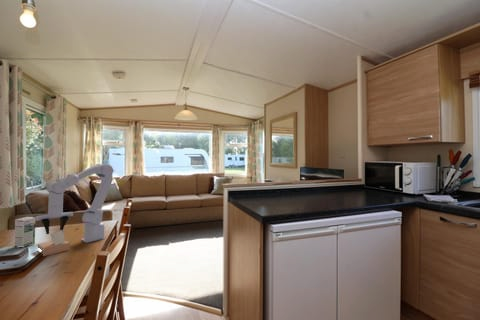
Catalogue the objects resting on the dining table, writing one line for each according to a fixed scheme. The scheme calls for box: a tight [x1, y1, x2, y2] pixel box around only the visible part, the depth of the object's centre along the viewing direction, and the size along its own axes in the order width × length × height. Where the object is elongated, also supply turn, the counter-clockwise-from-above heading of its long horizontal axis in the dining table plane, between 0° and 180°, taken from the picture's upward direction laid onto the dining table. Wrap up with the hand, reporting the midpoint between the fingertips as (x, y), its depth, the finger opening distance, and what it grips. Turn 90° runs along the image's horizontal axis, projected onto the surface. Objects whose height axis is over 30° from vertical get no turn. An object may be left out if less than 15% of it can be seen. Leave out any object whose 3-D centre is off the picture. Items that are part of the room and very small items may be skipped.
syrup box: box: [13, 216, 36, 247], centre depth 118 cm, size 6×6×14 cm
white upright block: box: [49, 228, 66, 246], centre depth 111 cm, size 4×4×6 cm
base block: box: [37, 240, 70, 257], centre depth 112 cm, size 10×10×4 cm
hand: (54, 232), depth 112 cm, fingers open, 5 cm apart
